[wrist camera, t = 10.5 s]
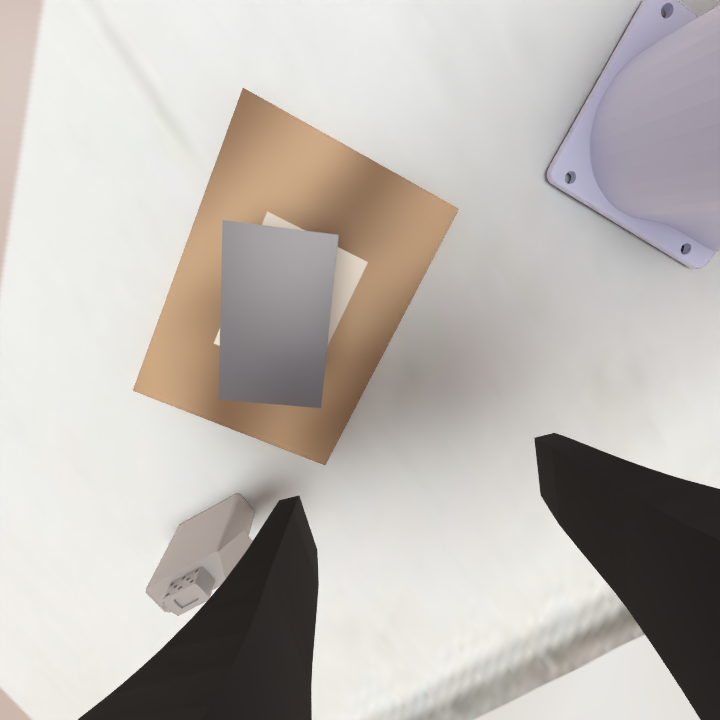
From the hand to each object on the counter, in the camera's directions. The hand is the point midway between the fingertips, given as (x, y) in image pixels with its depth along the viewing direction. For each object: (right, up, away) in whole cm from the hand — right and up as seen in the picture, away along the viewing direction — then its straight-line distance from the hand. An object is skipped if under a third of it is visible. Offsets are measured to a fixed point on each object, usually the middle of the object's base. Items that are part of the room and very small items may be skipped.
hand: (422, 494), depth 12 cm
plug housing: (-5, +7, +6) cm, 10 cm away
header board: (-5, +7, +7) cm, 11 cm away
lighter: (-9, -4, +11) cm, 14 cm away
